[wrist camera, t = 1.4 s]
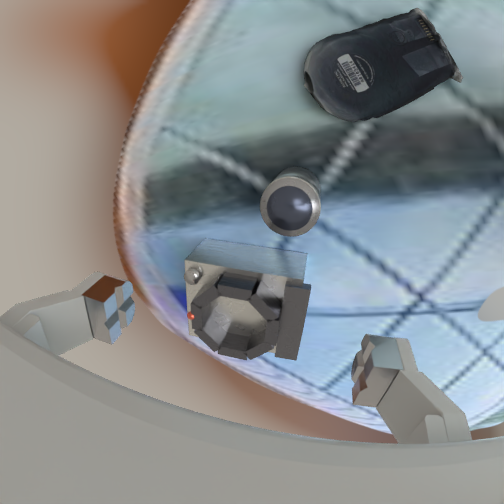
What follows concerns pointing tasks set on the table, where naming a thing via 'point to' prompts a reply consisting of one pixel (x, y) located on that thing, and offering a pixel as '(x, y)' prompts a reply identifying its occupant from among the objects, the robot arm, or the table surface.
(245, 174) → the table surface
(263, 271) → the camera body
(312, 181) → the lens
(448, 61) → the electronic device
